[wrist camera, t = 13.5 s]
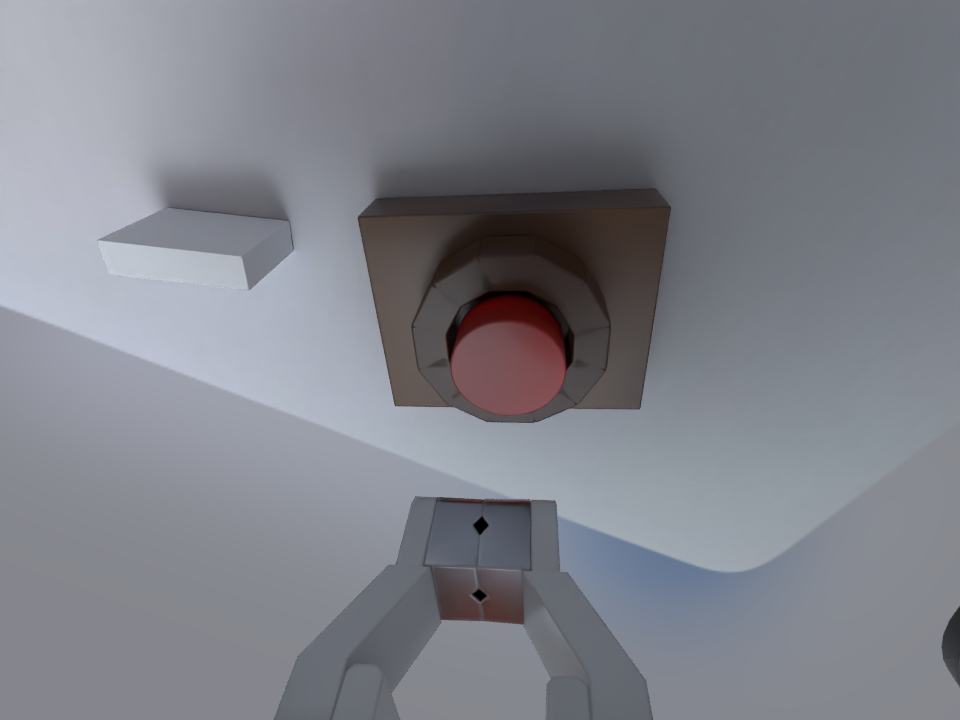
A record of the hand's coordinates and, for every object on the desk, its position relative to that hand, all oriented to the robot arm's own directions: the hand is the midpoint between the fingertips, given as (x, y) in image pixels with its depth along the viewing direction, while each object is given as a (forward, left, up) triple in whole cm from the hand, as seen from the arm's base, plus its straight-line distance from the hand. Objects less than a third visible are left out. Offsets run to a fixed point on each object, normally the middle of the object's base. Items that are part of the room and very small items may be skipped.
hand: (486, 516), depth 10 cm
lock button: (0, 0, -7) cm, 7 cm away
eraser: (+11, -3, -11) cm, 16 cm away
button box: (0, 0, -11) cm, 11 cm away
